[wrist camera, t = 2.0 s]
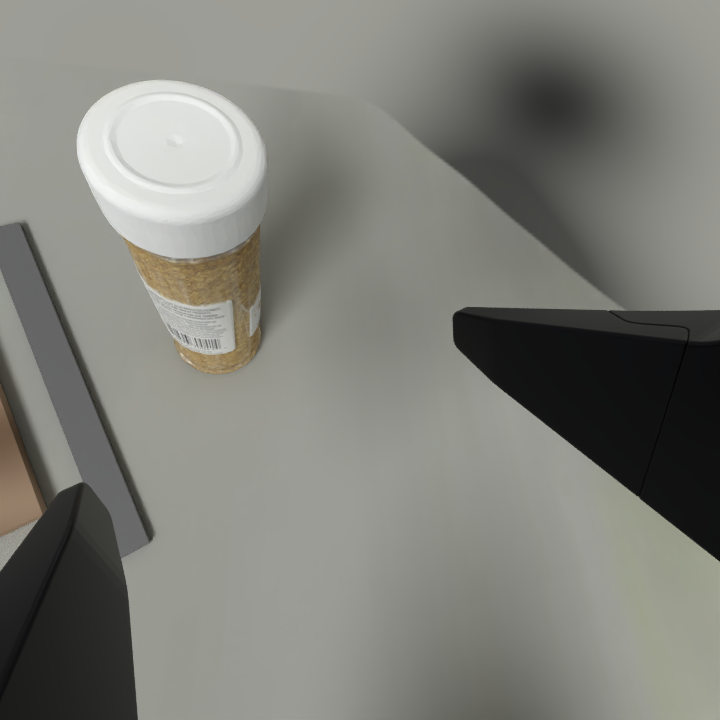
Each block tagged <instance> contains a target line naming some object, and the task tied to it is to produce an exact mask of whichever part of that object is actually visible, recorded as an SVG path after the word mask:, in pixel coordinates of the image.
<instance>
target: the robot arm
mask: <svg viewBox="0 0 720 720" xmlns="http://www.w3.org/2000/svg"><path fill="white" fill-rule="evenodd" d="M453 339H454V343H455V345H456V347H457V348H458V349H459V350H460V351H461V352H462V353H463V354H464V355H465V356H466V357H467V358H468V359H469V360H470V361H471V362H472V363H473V364H474V365H475V366H476V367H477V368H478V369H479V370H480V371H481V372H482V373H484V374H485V375H486V376H487V377H488V378H489V379H490V380H491V381H492V382H493V383H494V384H495V385H497V386H498V387H499V388H500V389H502V390H503V391H504V392H505V393H507V394H508V395H509V396H510V397H512V398H513V399H514V400H516V401H517V402H518V403H519V404H521V405H522V406H523V407H524V408H526V409H527V410H528V411H530V412H531V413H532V414H533V415H535V416H536V417H537V418H538V419H540V420H541V421H542V422H543V423H545V424H546V425H547V426H549V427H550V428H551V429H552V430H554V431H555V432H556V433H557V434H559V435H560V436H561V437H563V438H564V439H565V440H566V441H568V442H569V443H570V444H571V445H573V446H574V447H575V448H577V449H578V450H579V451H580V452H582V453H583V454H584V455H585V456H587V457H588V458H589V459H591V460H592V461H593V462H594V463H596V464H597V465H598V466H599V467H601V468H602V469H603V470H604V471H606V472H607V473H608V474H610V475H611V476H612V477H613V478H615V479H616V480H617V481H618V482H620V483H621V484H622V485H624V486H625V487H626V488H627V489H629V490H630V491H631V492H632V493H634V494H635V495H636V496H639V498H640V499H641V500H642V501H643V502H645V503H646V504H647V505H649V506H650V507H651V508H652V509H654V510H655V511H656V512H657V513H659V514H660V515H661V516H662V517H664V518H665V519H666V520H668V521H669V522H670V523H671V524H673V525H674V526H675V527H676V528H678V529H679V530H680V531H682V532H683V533H684V534H685V535H687V536H688V537H689V538H690V539H692V540H693V541H694V542H695V543H697V544H698V545H699V546H701V547H702V548H703V549H704V550H706V551H707V552H708V553H709V554H711V555H712V556H713V557H715V558H716V559H717V560H718V561H720V310H704V311H615V310H610V311H606V310H571V309H529V308H487V307H466V308H463V309H461V310H459V311H457V312H455V313H454V315H453ZM0 720H138V715H137V702H136V689H135V677H134V664H133V651H132V638H131V626H130V613H129V600H128V591H127V585H126V580H125V575H124V570H123V566H122V562H121V557H120V553H119V548H118V544H117V539H116V535H115V530H114V526H113V521H112V518H111V515H110V513H109V511H108V509H107V508H106V506H105V505H104V504H103V503H102V501H101V500H100V499H99V497H98V496H97V495H96V493H95V492H94V491H93V489H92V488H91V487H90V486H89V485H88V484H87V483H84V482H81V483H78V484H76V485H74V486H72V487H69V488H67V489H65V490H63V491H61V492H60V493H59V494H58V495H57V496H56V497H55V499H54V500H53V501H52V503H51V504H50V505H49V507H48V508H47V509H46V511H45V512H44V514H43V515H42V516H41V518H40V519H39V520H38V522H37V523H36V524H35V526H34V527H33V528H32V530H31V531H30V532H29V534H28V535H27V536H26V538H25V539H24V540H23V542H22V543H21V544H20V546H19V547H18V548H17V550H16V551H15V552H14V554H13V555H12V556H11V558H10V559H9V561H8V562H7V563H6V565H5V566H4V567H3V569H2V570H1V571H0Z"/></svg>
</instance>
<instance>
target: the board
mask: <svg viewBox="0 0 720 720" xmlns="http://www.w3.org/2000/svg"><path fill="white" fill-rule="evenodd" d="M46 509H47V508H46V505H45V502H44V499H43V497H42V494H41V491H40V489H39V486H38V483H37V480H36V478H35V475H34V472H33V469H32V467H31V464H30V461H29V459H28V456H27V453H26V450H25V448H24V445H23V442H22V439H21V437H20V434H19V431H18V429H17V426H16V423H15V420H14V418H13V415H12V412H11V409H10V407H9V404H8V401H7V399H6V396H5V393H4V390H3V388H2V385H1V382H0V537H1V536H4V535H6V534H8V533H10V532H12V531H14V530H16V529H18V528H21V527H23V526H25V525H27V524H29V523H31V522H33V521H35V520H38V519H40V518H41V516H42V515H43V514H44V512H45V511H46Z"/></svg>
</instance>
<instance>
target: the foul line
mask: <svg viewBox="0 0 720 720" xmlns="http://www.w3.org/2000/svg"><path fill="white" fill-rule="evenodd" d="M0 269H1V271H2V274H3V277H4V279H5V282H6V284H7V287H8V290H9V292H10V295H11V297H12V300H13V302H14V305H15V308H16V310H17V313H18V315H19V318H20V320H21V323H22V326H23V328H24V331H25V333H26V336H27V338H28V341H29V344H30V346H31V349H32V351H33V354H34V357H35V359H36V362H37V364H38V367H39V369H40V372H41V375H42V377H43V380H44V382H45V385H46V387H47V390H48V393H49V395H50V398H51V400H52V403H53V405H54V408H55V411H56V413H57V416H58V418H59V421H60V424H61V426H62V429H63V431H64V434H65V436H66V439H67V442H68V444H69V447H70V449H71V452H72V454H73V457H74V460H75V462H76V465H77V467H78V470H79V472H80V475H81V478H82V480H83V482H84V483H87V484H88V485H89V486H90V487H91V488H92V489H93V491H94V492H95V493H96V495H97V496H98V497H99V499H100V500H101V501H102V503H103V504H104V505H105V506H106V508H107V509H108V511H109V513H110V515H111V518H112V521H113V526H114V530H115V535H116V539H117V544H118V548H119V553H120V557H121V558H122V557H124V556H126V555H128V554H130V553H132V552H133V551H135V550H137V549H139V548H141V547H143V546H145V545H147V544H148V543H150V542H151V541H150V539H149V536H148V534H147V531H146V529H145V527H144V524H143V522H142V519H141V517H140V514H139V512H138V509H137V507H136V504H135V502H134V500H133V497H132V495H131V492H130V490H129V487H128V485H127V482H126V480H125V477H124V475H123V473H122V470H121V468H120V465H119V463H118V460H117V458H116V455H115V453H114V451H113V448H112V446H111V443H110V441H109V438H108V436H107V433H106V431H105V428H104V426H103V424H102V421H101V419H100V416H99V414H98V411H97V409H96V406H95V404H94V401H93V399H92V397H91V394H90V392H89V389H88V387H87V384H86V382H85V379H84V377H83V375H82V372H81V370H80V367H79V365H78V362H77V360H76V357H75V355H74V352H73V350H72V348H71V345H70V343H69V340H68V338H67V335H66V333H65V330H64V328H63V325H62V323H61V321H60V318H59V316H58V313H57V311H56V308H55V306H54V303H53V301H52V299H51V296H50V294H49V291H48V289H47V286H46V284H45V281H44V279H43V276H42V274H41V272H40V269H39V267H38V264H37V262H36V259H35V257H34V254H33V252H32V249H31V247H30V245H29V242H28V240H27V237H26V235H25V232H24V230H23V227H22V225H21V224H20V223H19V222H18V223H14V224H10V225H5V226H1V227H0Z"/></svg>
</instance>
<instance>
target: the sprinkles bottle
mask: <svg viewBox="0 0 720 720" xmlns="http://www.w3.org/2000/svg"><path fill="white" fill-rule="evenodd" d="M77 154H78V160H79V163H80V166H81V169H82V171H83V173H84V176H85V178H86V180H87V182H88V184H89V186H90V189H91V191H92V193H93V195H94V197H95V199H96V201H97V203H98V204H99V206H100V208H101V210H102V212H103V214H104V215H105V217H106V218H107V220H108V221H109V223H110V224H111V225H112V226H113V228H114V229H115V230H116V231H117V232H118V233H119V234H120V235H121V236H122V237H123V238H124V240H125V242H126V244H127V246H128V248H129V251H130V252H131V254H132V257H133V259H134V261H135V265H136V268H137V271H138V273H139V275H140V277H141V279H142V281H143V283H144V285H145V287H146V289H147V290H148V292H149V294H150V296H151V298H152V300H153V302H154V304H155V306H156V308H157V310H158V312H159V314H160V316H161V318H162V319H163V321H164V323H165V325H166V327H167V329H168V330H169V332H170V333H171V335H172V336H173V337H174V342H175V346H176V348H177V351H178V353H179V354H180V356H181V357H182V358H183V360H184V361H185V362H186V363H188V364H190V365H191V366H192V367H193V368H195V369H198V370H200V371H202V372H205V373H212V374H223V373H229V372H233V371H235V370H237V369H239V368H241V367H243V366H245V365H246V364H248V363H249V362H250V360H251V359H252V358H253V357H254V355H255V354H256V352H257V349H258V347H259V344H260V341H261V331H260V325H259V320H260V304H261V283H260V223H261V221H262V219H263V217H264V213H265V210H266V206H267V195H268V160H267V152H266V147H265V144H264V141H263V139H262V136H261V134H260V132H259V130H258V129H257V127H256V125H255V124H254V123H253V121H252V120H251V119H250V118H249V116H248V115H247V114H246V113H245V112H244V111H243V110H242V109H240V108H239V107H238V106H237V105H235V104H234V103H233V102H231V101H230V100H228V99H227V98H225V97H223V96H222V95H220V94H218V93H216V92H214V91H212V90H209V89H207V88H204V87H201V86H198V85H194V84H190V83H187V82H180V81H172V80H150V81H142V82H137V83H132V84H129V85H125V86H123V87H120V88H118V89H116V90H114V91H112V92H110V93H108V94H107V95H105V96H104V97H102V98H101V99H99V100H98V101H97V102H96V103H95V104H94V105H93V106H92V107H91V108H90V109H89V111H88V112H87V113H86V115H85V116H84V118H83V120H82V122H81V125H80V127H79V131H78V135H77Z"/></svg>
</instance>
